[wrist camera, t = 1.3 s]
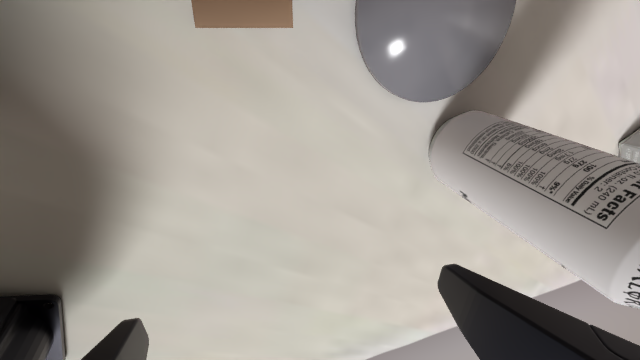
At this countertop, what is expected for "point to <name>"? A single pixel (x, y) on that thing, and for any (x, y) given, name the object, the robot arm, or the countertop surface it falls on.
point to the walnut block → (242, 13)
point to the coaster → (430, 43)
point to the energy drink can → (549, 196)
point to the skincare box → (631, 147)
